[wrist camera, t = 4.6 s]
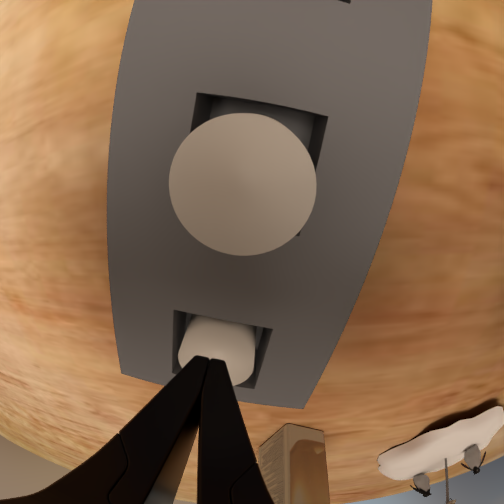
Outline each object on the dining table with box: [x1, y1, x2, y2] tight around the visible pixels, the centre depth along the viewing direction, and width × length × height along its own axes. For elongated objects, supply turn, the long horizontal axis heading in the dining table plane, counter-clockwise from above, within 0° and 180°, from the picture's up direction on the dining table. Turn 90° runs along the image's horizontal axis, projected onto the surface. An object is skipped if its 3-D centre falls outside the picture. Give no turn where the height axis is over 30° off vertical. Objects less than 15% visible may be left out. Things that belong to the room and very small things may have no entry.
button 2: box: [178, 314, 257, 386], centre depth 17 cm, size 4×4×4 cm
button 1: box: [169, 113, 317, 256], centre depth 10 cm, size 4×4×4 cm
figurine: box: [377, 406, 504, 504], centre depth 21 cm, size 20×18×16 cm
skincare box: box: [258, 424, 330, 504], centre depth 21 cm, size 6×4×12 cm
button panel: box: [107, 0, 432, 409], centre depth 13 cm, size 28×12×4 cm, turn 170°
